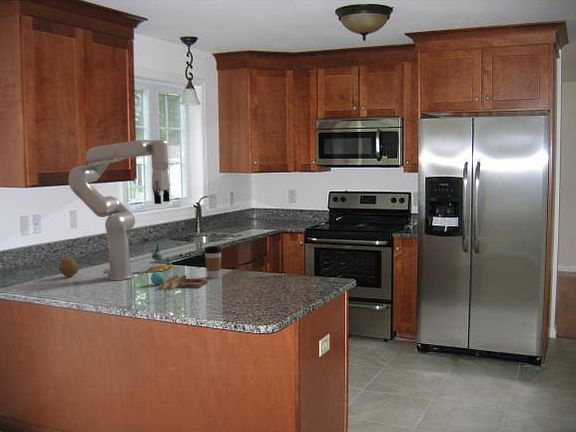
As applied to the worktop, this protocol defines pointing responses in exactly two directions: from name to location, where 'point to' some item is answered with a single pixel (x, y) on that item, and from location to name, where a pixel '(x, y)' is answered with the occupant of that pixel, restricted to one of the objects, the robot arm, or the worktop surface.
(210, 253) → the coffee cup
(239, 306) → the worktop surface
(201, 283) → the tray
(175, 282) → the rail
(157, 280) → the ball
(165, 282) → the rail
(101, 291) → the worktop surface
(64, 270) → the natural sponge
